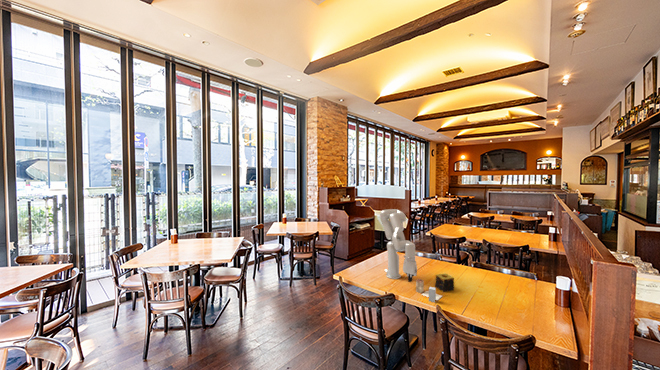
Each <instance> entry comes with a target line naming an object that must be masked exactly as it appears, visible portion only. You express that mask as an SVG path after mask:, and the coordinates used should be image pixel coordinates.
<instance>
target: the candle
mask: <svg viewBox="0 0 660 370" xmlns="http://www.w3.org/2000/svg"><path fill="white" fill-rule="evenodd" d="M434 288H437V289H438V290H440V291H442V292H444V293H445V292H451V291H455V277H453V276H452V275H449V274H447V273H440V274H439V273H438V274H435V286H434Z"/></svg>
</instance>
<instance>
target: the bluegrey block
mask: <svg viewBox="0 0 660 370" xmlns="http://www.w3.org/2000/svg"><path fill="white" fill-rule="evenodd" d="M436 288H437V287H435V286H434V287H432V286H429V288H428V291H429V298H428V302H430V301H431V303H436V301H437V300H436V294H437V290H436ZM435 300H436V301H435Z"/></svg>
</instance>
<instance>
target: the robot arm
mask: <svg viewBox="0 0 660 370" xmlns="http://www.w3.org/2000/svg"><path fill="white" fill-rule="evenodd" d="M379 218H380V219H379V220H380V221H381V223H382V226H383V230H384V234H385V237H386V239H387V240H390V241H388V242H387V243H386V250H387V269H386V268H385V269H384V272H385V273H386V277H387V278H388V279H392V280H394V279H395V280H397V279H400V278H401V277H402V276H401V274H400V256H399V254H398V253H397V252H404V253H405V254H404V255H403V258H404V260H403V263H402V271H403V273H404V274H405V275H407V281H408V283H412V282H413V277H417V275H418V274H417V273H418V266H417V265H418V264H417V261H416V244H415V243H414V242H412V241H410V240H406V237H405V234H404V232H403V231H404V230H405V227H404V225H403V223H405V222H406V220H407V216H406V214H405V213H404V211H402V210H399V209H395V208H394V209H393V208H390V209H382V210H381V211H380V212H379Z"/></svg>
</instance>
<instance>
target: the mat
mask: <svg viewBox="0 0 660 370" xmlns="http://www.w3.org/2000/svg"><path fill="white" fill-rule="evenodd" d="M420 294H421V296H422V295H423V297H425V296H426V298H428V297H429V290H426V291H424V292H422V293H420ZM441 298H443V295H441V294H438V293H436V301H439V300H440V299H441Z"/></svg>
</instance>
